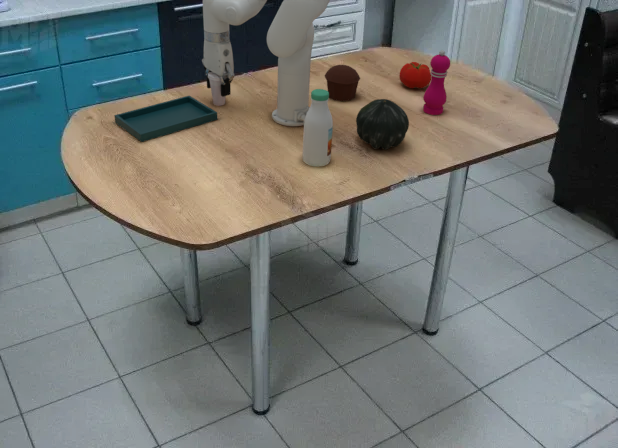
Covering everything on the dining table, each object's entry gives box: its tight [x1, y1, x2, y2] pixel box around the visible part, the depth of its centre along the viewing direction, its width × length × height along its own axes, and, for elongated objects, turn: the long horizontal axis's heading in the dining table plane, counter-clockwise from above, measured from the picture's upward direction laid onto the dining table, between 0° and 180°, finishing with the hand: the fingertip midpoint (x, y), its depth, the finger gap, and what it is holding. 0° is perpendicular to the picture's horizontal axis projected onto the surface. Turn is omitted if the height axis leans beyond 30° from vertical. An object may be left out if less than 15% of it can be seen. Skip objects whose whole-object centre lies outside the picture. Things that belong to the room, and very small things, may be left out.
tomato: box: [399, 61, 432, 89], centre depth 229 cm, size 11×11×8 cm
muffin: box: [324, 64, 361, 102], centre depth 218 cm, size 12×11×10 cm
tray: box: [113, 95, 219, 143], centre depth 199 cm, size 16×26×2 cm, turn 131°
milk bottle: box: [302, 88, 334, 167], centre depth 178 cm, size 8×8×20 cm
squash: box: [355, 98, 410, 151], centre depth 190 cm, size 14×15×15 cm
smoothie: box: [208, 71, 227, 107], centre depth 208 cm, size 6×6×14 cm
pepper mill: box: [422, 49, 451, 116], centre depth 209 cm, size 7×7×20 cm
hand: (218, 91), depth 210 cm, fingers open, 7 cm apart
